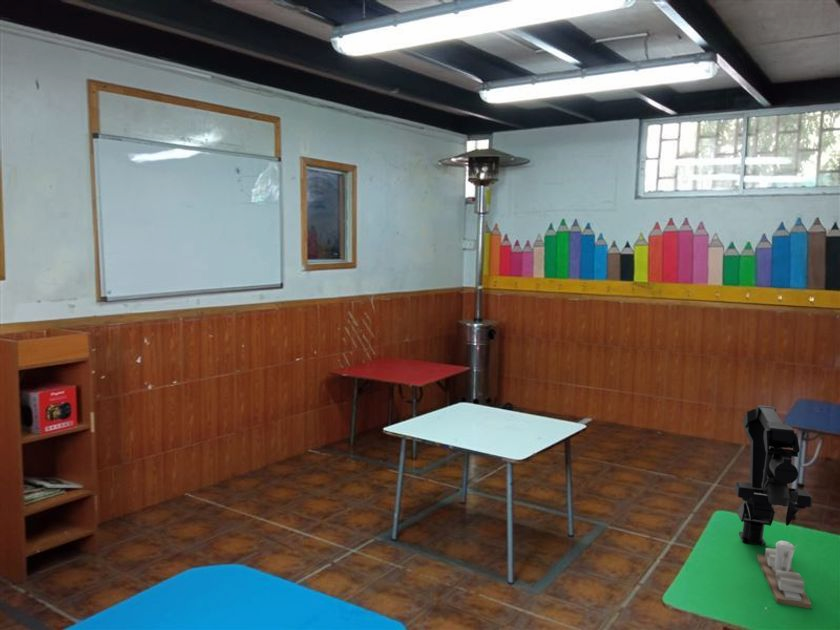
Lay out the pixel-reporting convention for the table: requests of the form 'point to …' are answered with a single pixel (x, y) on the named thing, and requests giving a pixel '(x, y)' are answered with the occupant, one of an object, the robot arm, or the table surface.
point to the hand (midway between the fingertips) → (768, 522)
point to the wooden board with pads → (783, 582)
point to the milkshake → (783, 555)
